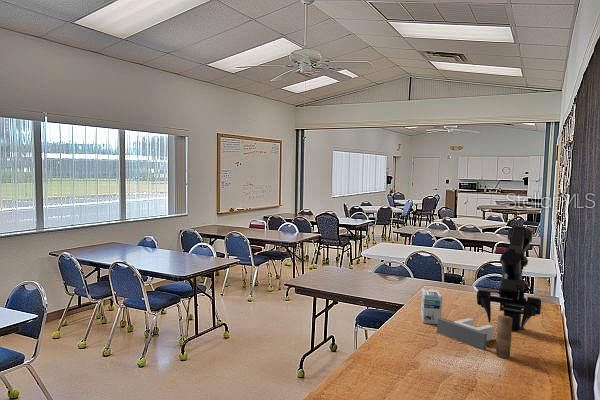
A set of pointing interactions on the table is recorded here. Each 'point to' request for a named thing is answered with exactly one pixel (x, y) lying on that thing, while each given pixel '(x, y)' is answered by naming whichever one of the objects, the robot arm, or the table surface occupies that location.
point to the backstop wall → (462, 333)
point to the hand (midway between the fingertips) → (505, 324)
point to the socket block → (486, 329)
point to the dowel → (504, 336)
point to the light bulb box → (431, 306)
